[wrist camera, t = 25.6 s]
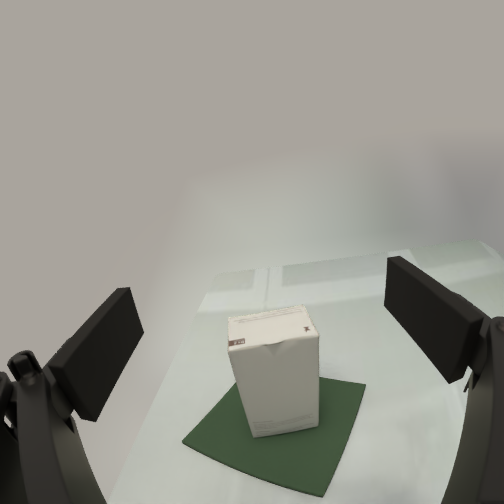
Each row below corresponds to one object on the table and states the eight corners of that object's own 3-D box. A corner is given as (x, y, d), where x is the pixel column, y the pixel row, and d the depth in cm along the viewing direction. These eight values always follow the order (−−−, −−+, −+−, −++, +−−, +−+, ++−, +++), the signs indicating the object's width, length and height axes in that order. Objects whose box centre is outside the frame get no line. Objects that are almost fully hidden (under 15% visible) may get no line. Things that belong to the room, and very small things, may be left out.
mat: (182, 443, 27) (181, 441, 27) (253, 364, 42) (253, 362, 41) (322, 497, 18) (322, 495, 18) (365, 386, 33) (365, 384, 32)
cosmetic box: (309, 396, 32) (307, 301, 28) (319, 429, 27) (324, 332, 22) (246, 406, 32) (227, 313, 28) (249, 441, 26) (226, 347, 22)
